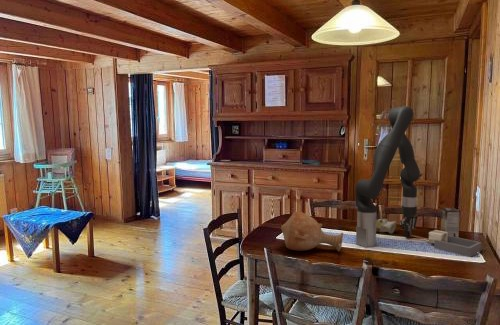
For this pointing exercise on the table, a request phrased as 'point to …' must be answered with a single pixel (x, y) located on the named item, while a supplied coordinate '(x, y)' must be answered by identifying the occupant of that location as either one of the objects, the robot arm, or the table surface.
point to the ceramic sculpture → (385, 225)
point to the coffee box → (450, 221)
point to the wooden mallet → (433, 235)
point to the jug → (307, 233)
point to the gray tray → (459, 246)
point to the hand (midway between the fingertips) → (408, 236)
